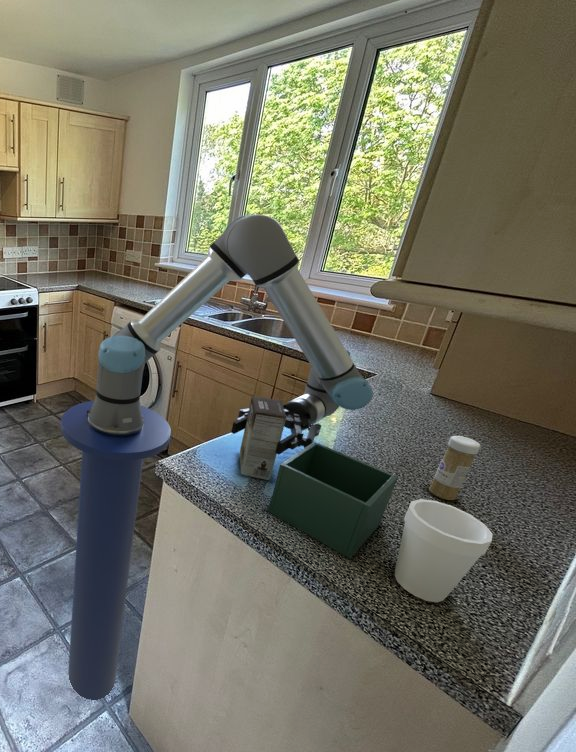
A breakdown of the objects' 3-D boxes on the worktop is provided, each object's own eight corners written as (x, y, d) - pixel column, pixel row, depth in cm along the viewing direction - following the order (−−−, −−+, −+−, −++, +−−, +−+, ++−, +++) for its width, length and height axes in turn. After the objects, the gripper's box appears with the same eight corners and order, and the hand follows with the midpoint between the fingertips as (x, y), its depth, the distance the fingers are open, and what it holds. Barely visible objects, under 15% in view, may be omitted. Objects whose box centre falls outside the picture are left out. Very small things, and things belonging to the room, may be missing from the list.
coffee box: (238, 454, 100) (251, 394, 94) (266, 459, 98) (281, 399, 92) (240, 475, 92) (254, 411, 86) (271, 481, 90) (288, 416, 84)
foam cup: (404, 605, 62) (435, 537, 57) (371, 558, 70) (395, 496, 66) (474, 616, 60) (511, 547, 56) (432, 566, 69) (461, 503, 64)
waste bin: (267, 511, 80) (280, 464, 77) (301, 485, 89) (314, 441, 85) (350, 559, 70) (369, 506, 66) (379, 524, 78) (398, 476, 74)
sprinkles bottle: (422, 487, 90) (445, 433, 85) (444, 488, 90) (468, 435, 85) (438, 500, 86) (463, 445, 81) (461, 502, 85) (487, 447, 81)
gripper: (346, 445, 96) (303, 477, 83) (256, 409, 112) (208, 431, 100) (355, 416, 93) (312, 445, 80) (262, 384, 110) (213, 404, 97)
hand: (255, 437), depth 90 cm, fingers closed on coffee box, 10 cm apart
